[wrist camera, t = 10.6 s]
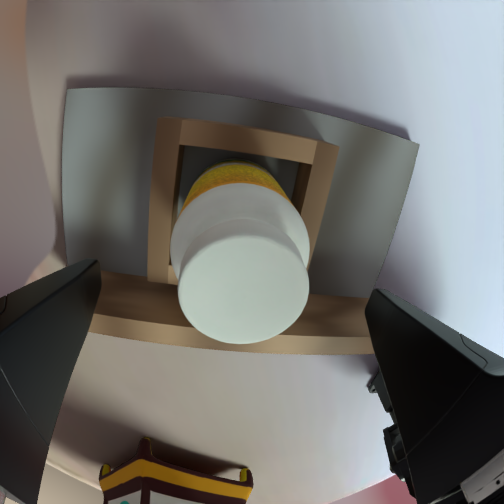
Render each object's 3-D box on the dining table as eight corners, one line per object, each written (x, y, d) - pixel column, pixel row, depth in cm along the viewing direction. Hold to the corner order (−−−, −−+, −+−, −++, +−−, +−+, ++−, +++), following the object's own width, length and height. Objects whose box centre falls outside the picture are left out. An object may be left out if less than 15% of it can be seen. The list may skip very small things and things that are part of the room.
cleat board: (411, 142, 18) (463, 158, 13) (355, 313, 24) (380, 361, 19) (74, 89, 14) (25, 88, 9) (76, 284, 20) (47, 331, 15)
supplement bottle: (292, 224, 19) (346, 328, 10) (211, 256, 19) (205, 376, 10) (261, 141, 16) (303, 181, 8) (173, 179, 17) (122, 256, 8)
